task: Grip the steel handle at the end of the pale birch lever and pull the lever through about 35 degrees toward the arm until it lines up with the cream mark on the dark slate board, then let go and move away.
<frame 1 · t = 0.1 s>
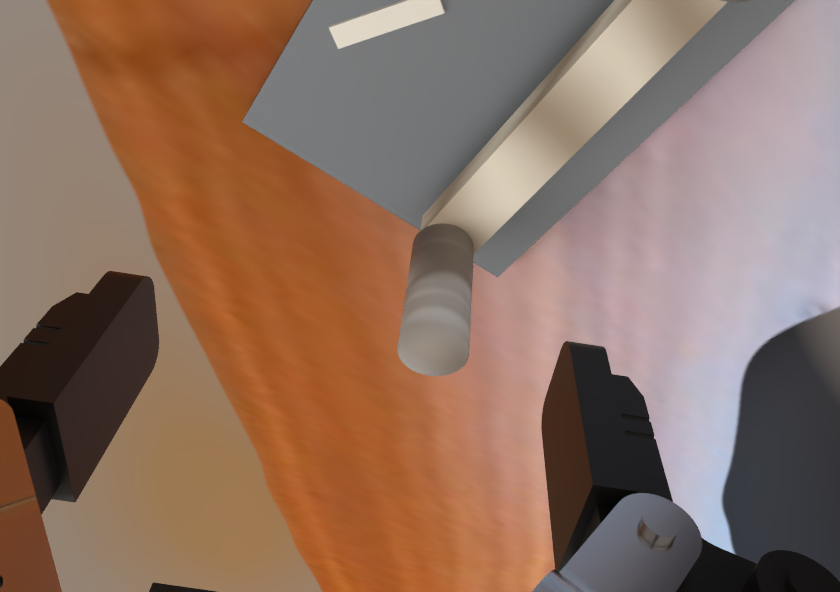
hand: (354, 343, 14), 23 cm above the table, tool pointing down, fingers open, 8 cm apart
lever: (583, 139, 27), point 7 cm above the table, hinge at 0.0°
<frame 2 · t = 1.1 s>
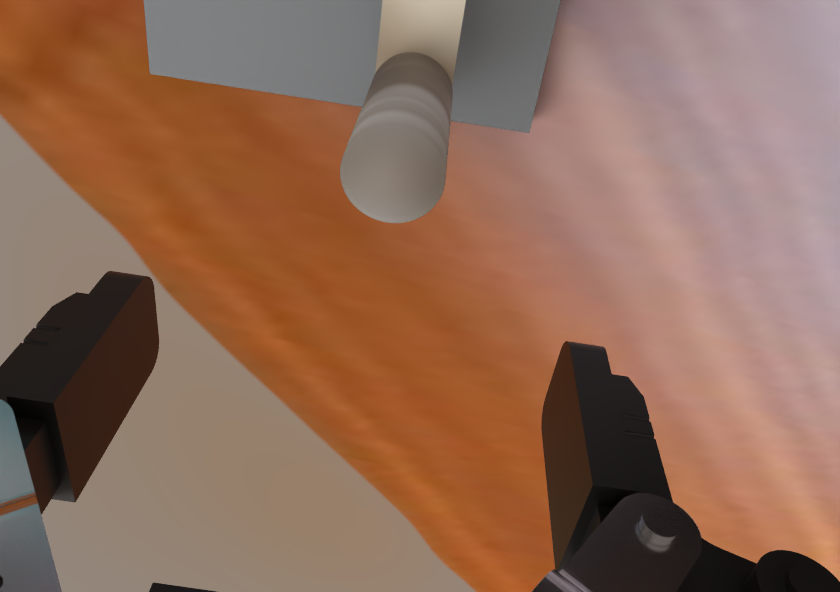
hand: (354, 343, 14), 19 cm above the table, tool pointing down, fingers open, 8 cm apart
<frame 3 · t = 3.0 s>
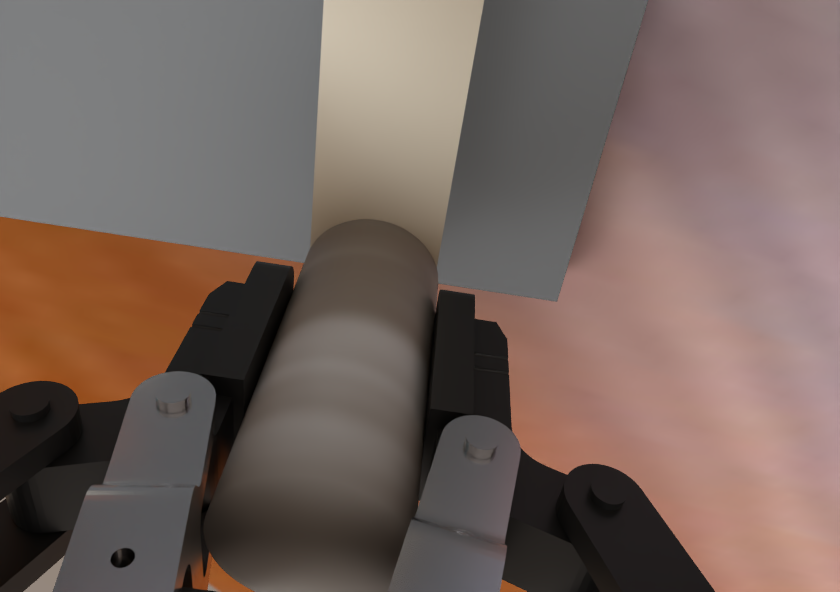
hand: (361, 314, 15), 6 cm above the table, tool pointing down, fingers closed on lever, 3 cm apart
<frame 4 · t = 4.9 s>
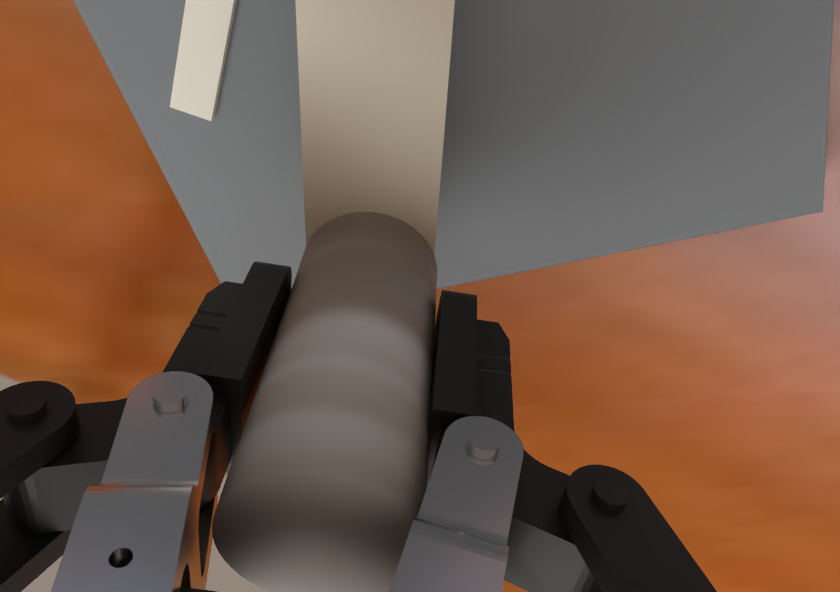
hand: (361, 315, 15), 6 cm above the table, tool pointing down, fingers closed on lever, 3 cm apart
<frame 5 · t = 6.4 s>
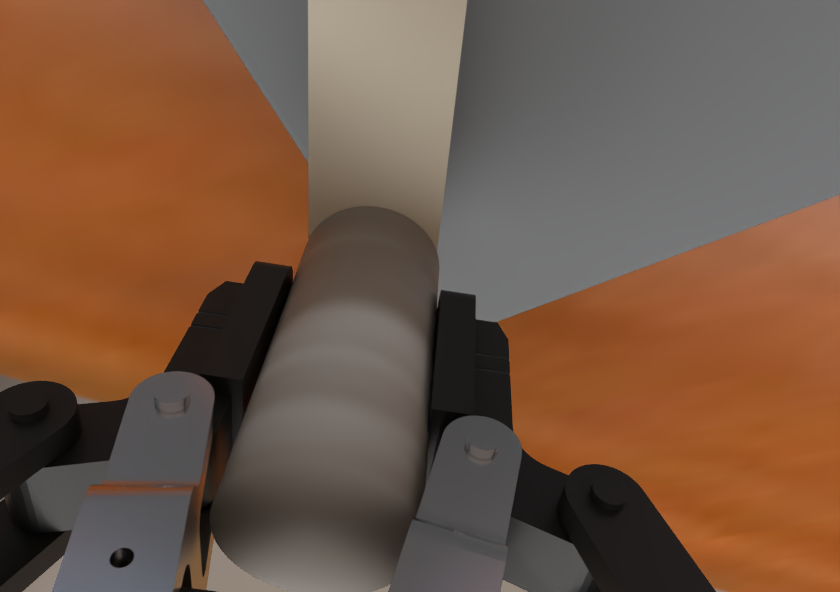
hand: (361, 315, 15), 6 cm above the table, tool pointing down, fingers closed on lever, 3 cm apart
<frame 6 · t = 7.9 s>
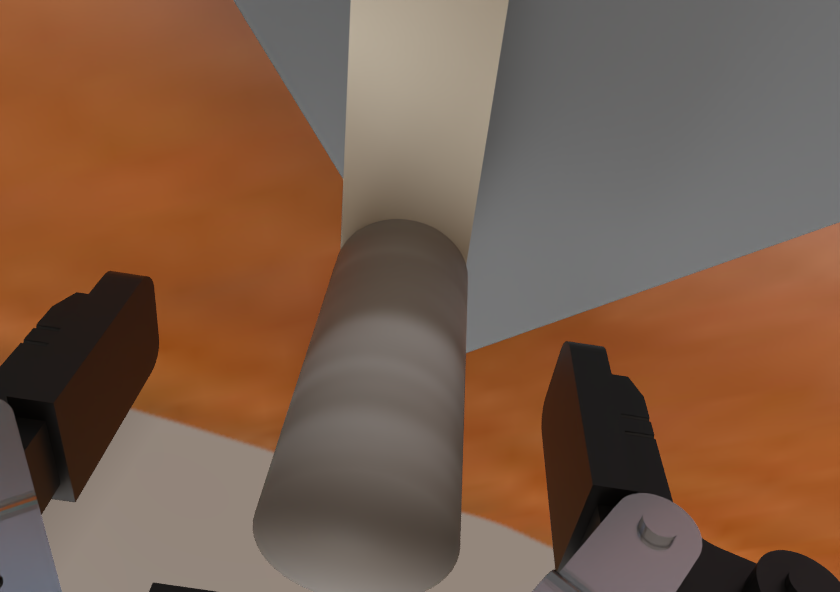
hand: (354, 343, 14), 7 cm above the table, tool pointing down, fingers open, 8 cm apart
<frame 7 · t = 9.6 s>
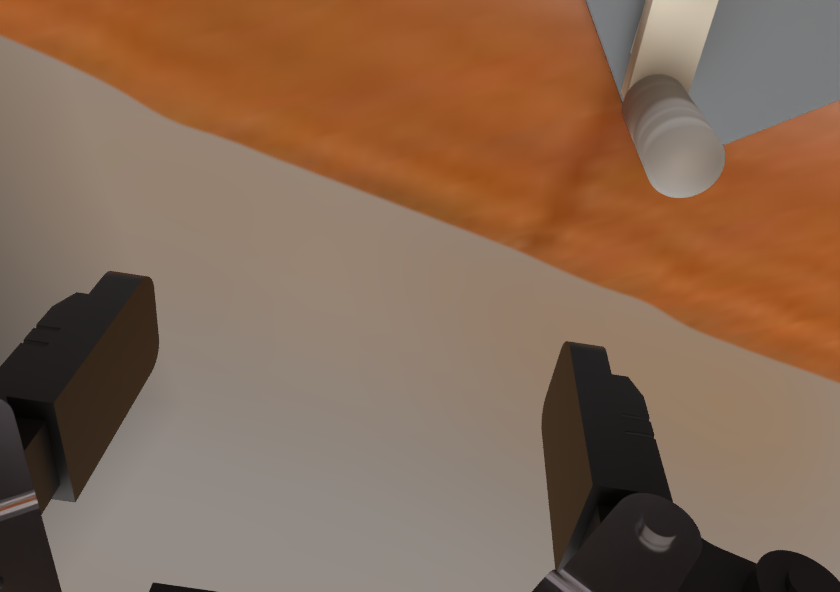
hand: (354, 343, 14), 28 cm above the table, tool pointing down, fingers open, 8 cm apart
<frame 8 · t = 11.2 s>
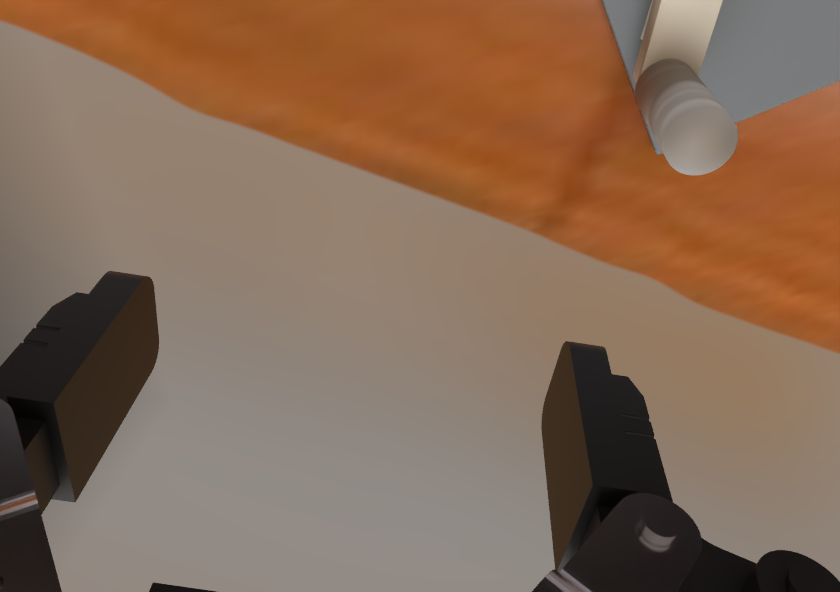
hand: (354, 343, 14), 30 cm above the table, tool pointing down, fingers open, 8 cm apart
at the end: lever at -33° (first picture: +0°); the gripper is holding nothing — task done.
